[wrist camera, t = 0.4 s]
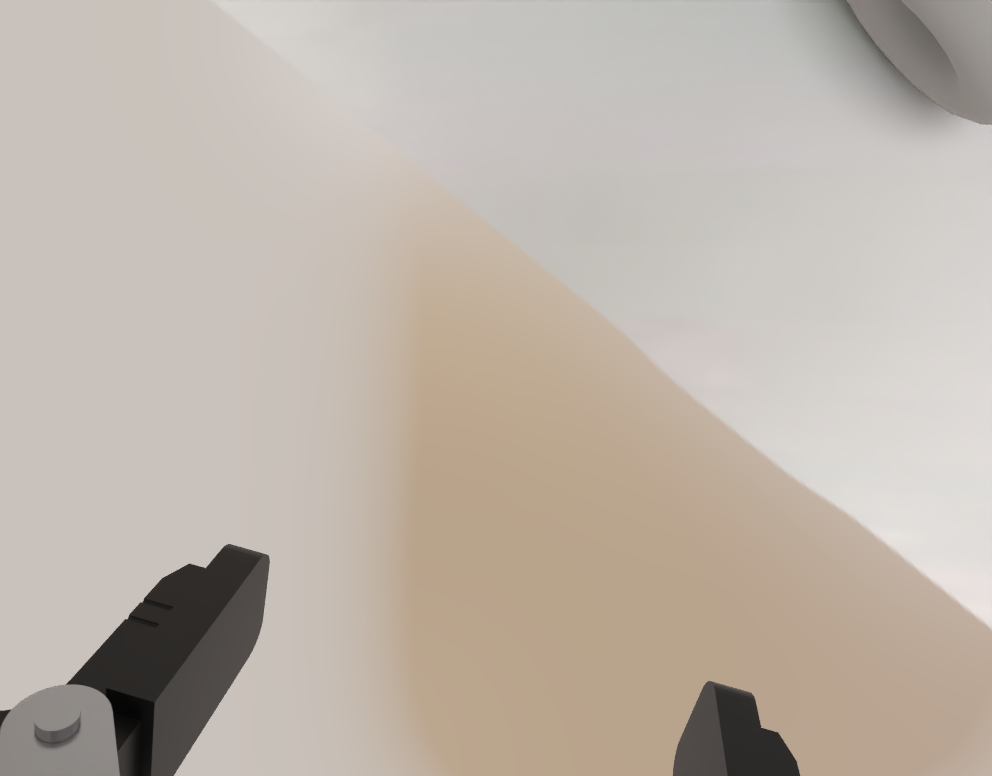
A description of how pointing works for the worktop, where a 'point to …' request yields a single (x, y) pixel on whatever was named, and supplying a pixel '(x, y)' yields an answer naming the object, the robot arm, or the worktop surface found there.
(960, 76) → the donut
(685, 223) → the worktop surface
